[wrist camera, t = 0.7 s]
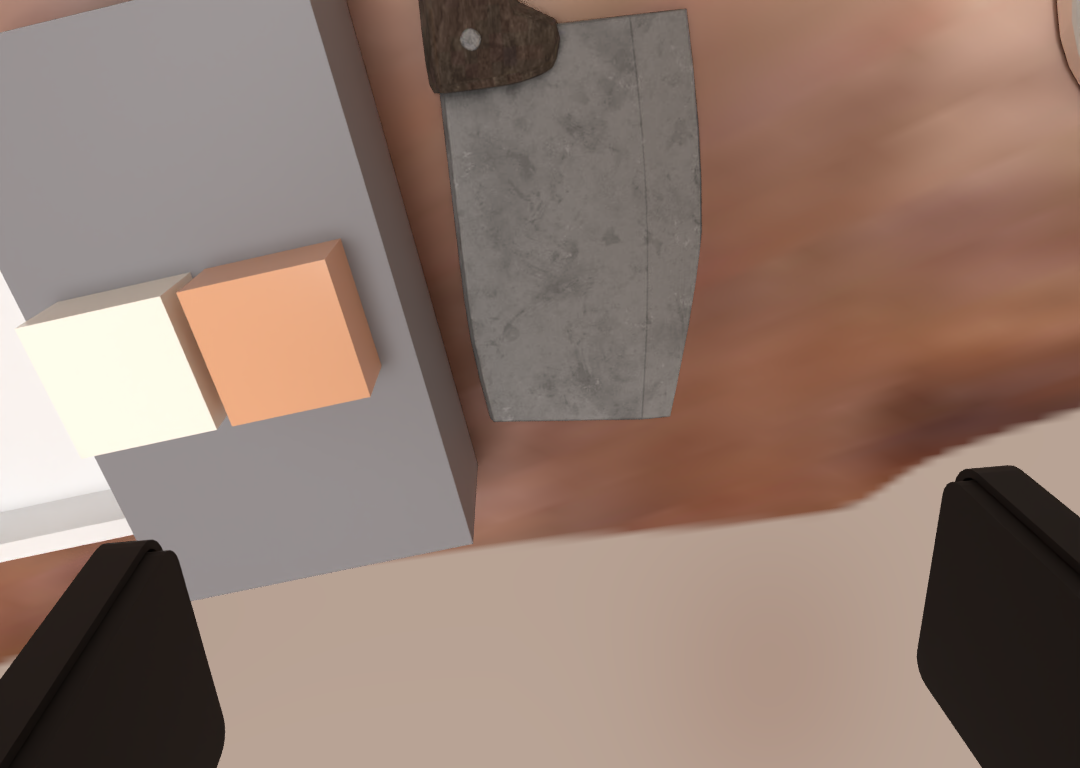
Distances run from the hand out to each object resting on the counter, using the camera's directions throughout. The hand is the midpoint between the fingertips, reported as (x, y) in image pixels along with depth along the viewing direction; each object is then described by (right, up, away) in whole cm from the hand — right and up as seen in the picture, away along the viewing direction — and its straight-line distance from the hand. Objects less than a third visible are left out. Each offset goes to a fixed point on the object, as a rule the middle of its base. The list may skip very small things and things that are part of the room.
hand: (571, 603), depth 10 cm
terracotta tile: (-8, +5, +17) cm, 19 cm away
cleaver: (0, +14, +20) cm, 25 cm away
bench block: (-11, +7, +22) cm, 26 cm away
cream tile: (-13, +4, +17) cm, 22 cm away
